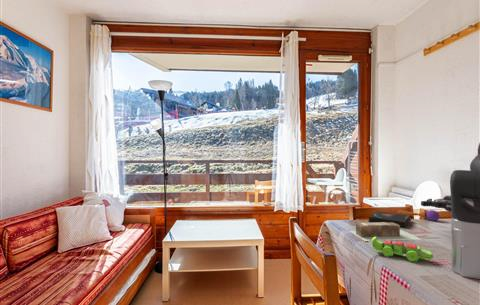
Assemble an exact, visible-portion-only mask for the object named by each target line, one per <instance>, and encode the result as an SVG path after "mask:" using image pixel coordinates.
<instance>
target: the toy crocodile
mask: <svg viewBox="0 0 480 305" xmlns="http://www.w3.org/2000/svg"><path fill="white" fill-rule="evenodd" d="M371 245H372V248H374V249H375V250H376V251H379V252H381V253H382V254H383V256H384V257H386V256H391V257H390V258H392V257H393V256H394V255H399V256H404V255H405V256H406V259H407V260H408V261H409V262H411V261H415V262H414V263H417V262H418V261H419V259H422V260H428V261H429V260H430V261H431V260H432V259H433V258H434V254H433V253H432V251H429V250H426V249H423V248H421V247H420V246H419V245H417V244H412V243H405V245H404V242H403V241H399V240H394V243H393V240H387V241H376V237H373V238H372V241H371Z"/></svg>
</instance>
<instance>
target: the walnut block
mask: <svg viewBox="0 0 480 305" xmlns="http://www.w3.org/2000/svg"><path fill="white" fill-rule="evenodd" d="M400 230H401V228H400V225H398V224H395V223H393V222H390V223H386V222H376V223H369V222H357V223H356V222H355V231H356V234H357V235H358V236H360V237H397V236H400Z"/></svg>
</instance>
